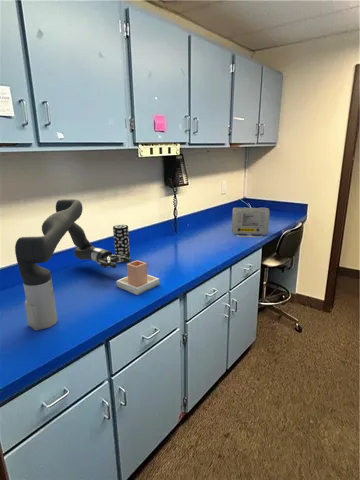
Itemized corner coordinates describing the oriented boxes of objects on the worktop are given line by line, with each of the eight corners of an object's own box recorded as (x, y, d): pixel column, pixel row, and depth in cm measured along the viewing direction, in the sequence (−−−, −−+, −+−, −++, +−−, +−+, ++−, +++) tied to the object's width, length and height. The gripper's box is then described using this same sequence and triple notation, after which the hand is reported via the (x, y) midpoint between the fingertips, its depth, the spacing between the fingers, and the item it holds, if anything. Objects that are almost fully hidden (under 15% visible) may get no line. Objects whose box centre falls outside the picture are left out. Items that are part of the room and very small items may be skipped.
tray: (137, 295, 135) (137, 288, 134) (116, 286, 143) (116, 280, 142) (159, 284, 145) (159, 278, 144) (138, 277, 154) (138, 271, 153)
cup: (137, 287, 140) (136, 267, 137) (128, 284, 143) (126, 264, 141) (147, 283, 144) (146, 263, 141) (138, 279, 148) (137, 260, 145)
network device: (266, 234, 226) (268, 207, 220) (268, 237, 217) (270, 210, 212) (231, 233, 229) (232, 207, 223) (231, 236, 221) (232, 209, 215)
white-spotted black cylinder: (112, 260, 177) (110, 226, 171) (124, 256, 183) (122, 224, 177) (120, 263, 171) (118, 229, 165) (133, 260, 177) (131, 226, 171)
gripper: (89, 253, 152) (110, 260, 142) (112, 246, 162) (133, 252, 152) (90, 267, 154) (111, 275, 144) (113, 259, 164) (134, 266, 154)
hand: (122, 263), depth 148 cm, fingers open, 8 cm apart
